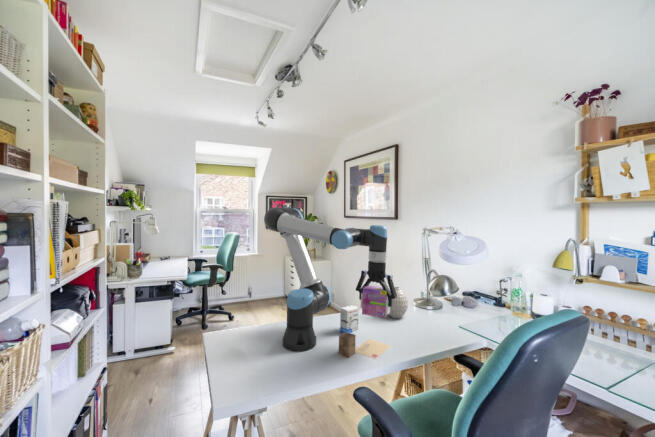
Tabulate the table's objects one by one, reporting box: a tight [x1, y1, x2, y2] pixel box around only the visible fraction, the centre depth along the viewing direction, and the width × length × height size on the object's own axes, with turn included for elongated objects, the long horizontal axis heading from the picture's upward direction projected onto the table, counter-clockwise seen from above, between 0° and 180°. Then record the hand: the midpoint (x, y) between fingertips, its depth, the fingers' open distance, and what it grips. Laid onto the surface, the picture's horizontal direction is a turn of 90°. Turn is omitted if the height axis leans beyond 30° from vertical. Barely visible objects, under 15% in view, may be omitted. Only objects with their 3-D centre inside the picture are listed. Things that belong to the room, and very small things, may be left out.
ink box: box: [339, 304, 360, 334], centre depth 150 cm, size 9×5×12 cm, turn 131°
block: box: [338, 332, 357, 359], centre depth 126 cm, size 5×5×8 cm
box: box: [361, 284, 388, 319], centre depth 132 cm, size 10×6×12 cm, turn 71°
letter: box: [355, 338, 391, 360], centre depth 131 cm, size 11×15×1 cm
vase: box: [388, 286, 409, 319], centre depth 171 cm, size 13×13×17 cm
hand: (374, 310), depth 132 cm, fingers closed on box, 11 cm apart
